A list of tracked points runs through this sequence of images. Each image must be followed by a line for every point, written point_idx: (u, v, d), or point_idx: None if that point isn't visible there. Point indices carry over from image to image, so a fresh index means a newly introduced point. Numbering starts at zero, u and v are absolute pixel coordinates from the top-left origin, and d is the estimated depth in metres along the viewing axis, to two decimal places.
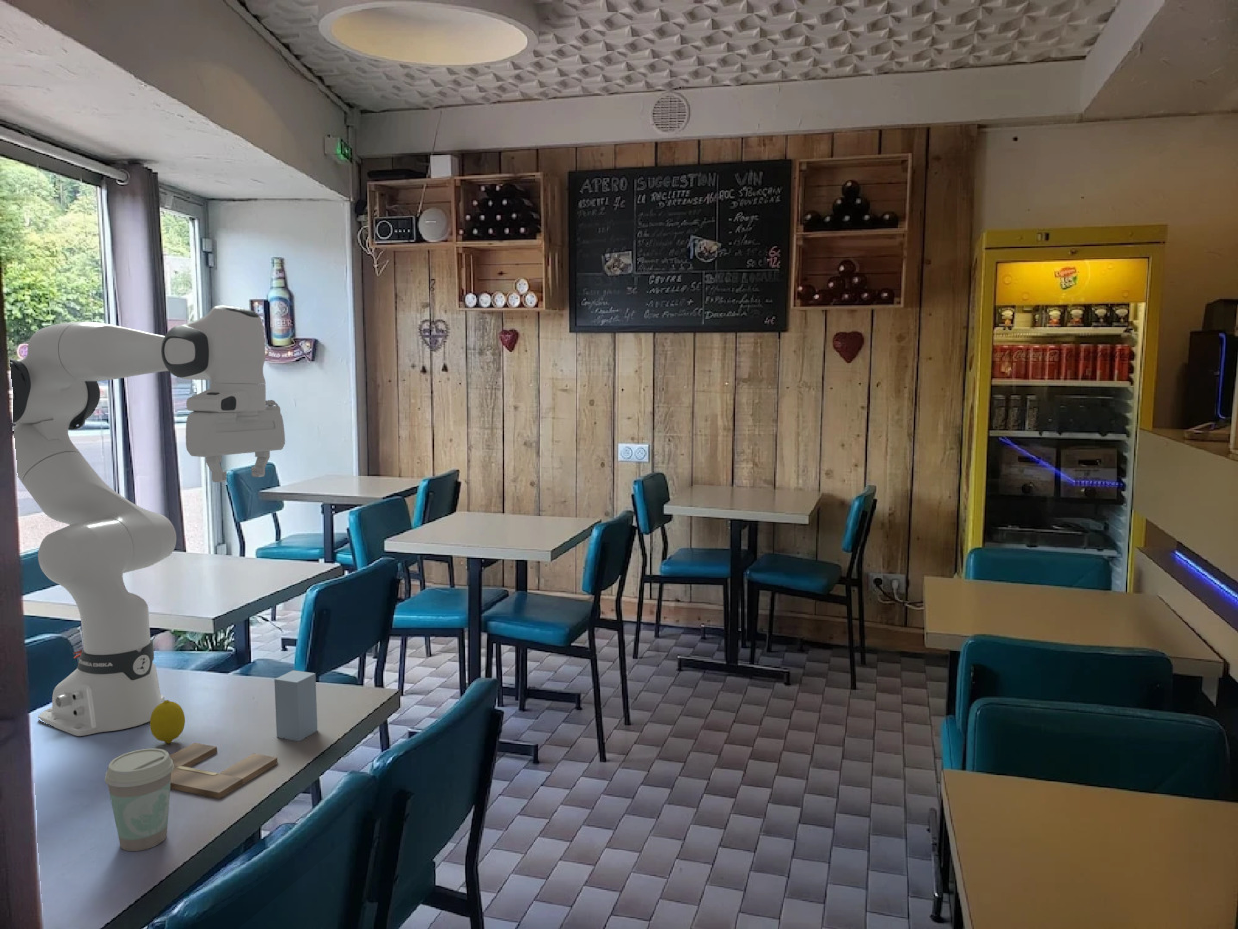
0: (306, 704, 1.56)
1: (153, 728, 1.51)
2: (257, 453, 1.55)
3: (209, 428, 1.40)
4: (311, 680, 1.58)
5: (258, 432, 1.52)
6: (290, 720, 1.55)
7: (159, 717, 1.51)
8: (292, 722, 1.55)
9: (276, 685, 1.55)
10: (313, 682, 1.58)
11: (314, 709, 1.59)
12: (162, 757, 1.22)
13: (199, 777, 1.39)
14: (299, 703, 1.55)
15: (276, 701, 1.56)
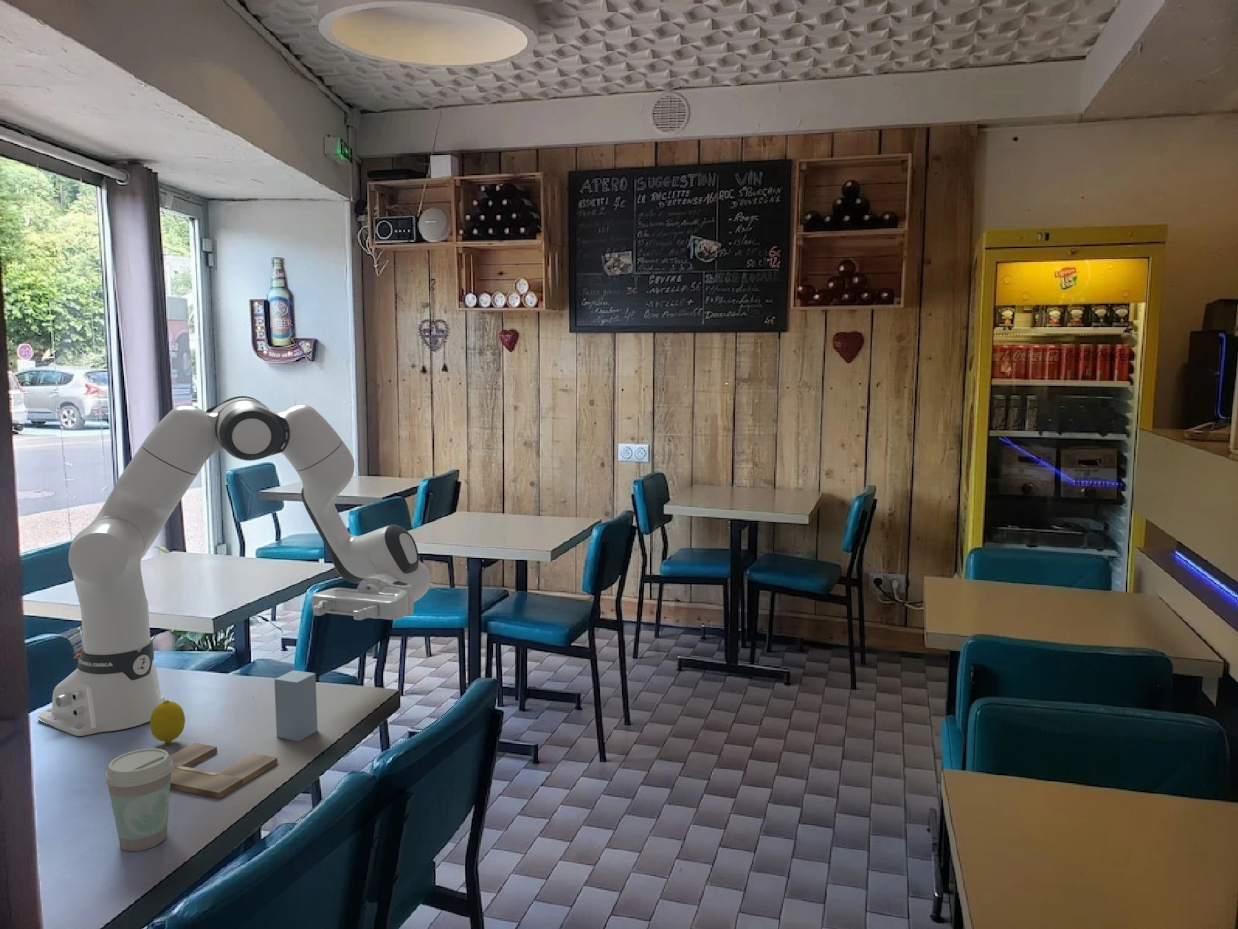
0: (306, 704, 1.56)
1: (153, 728, 1.51)
2: (327, 603, 1.73)
3: None
4: (311, 680, 1.58)
5: None
6: (290, 720, 1.55)
7: (160, 717, 1.51)
8: (292, 722, 1.55)
9: (276, 685, 1.55)
10: (313, 682, 1.58)
11: (314, 709, 1.59)
12: (162, 757, 1.22)
13: (199, 777, 1.39)
14: (299, 703, 1.55)
15: (276, 701, 1.56)
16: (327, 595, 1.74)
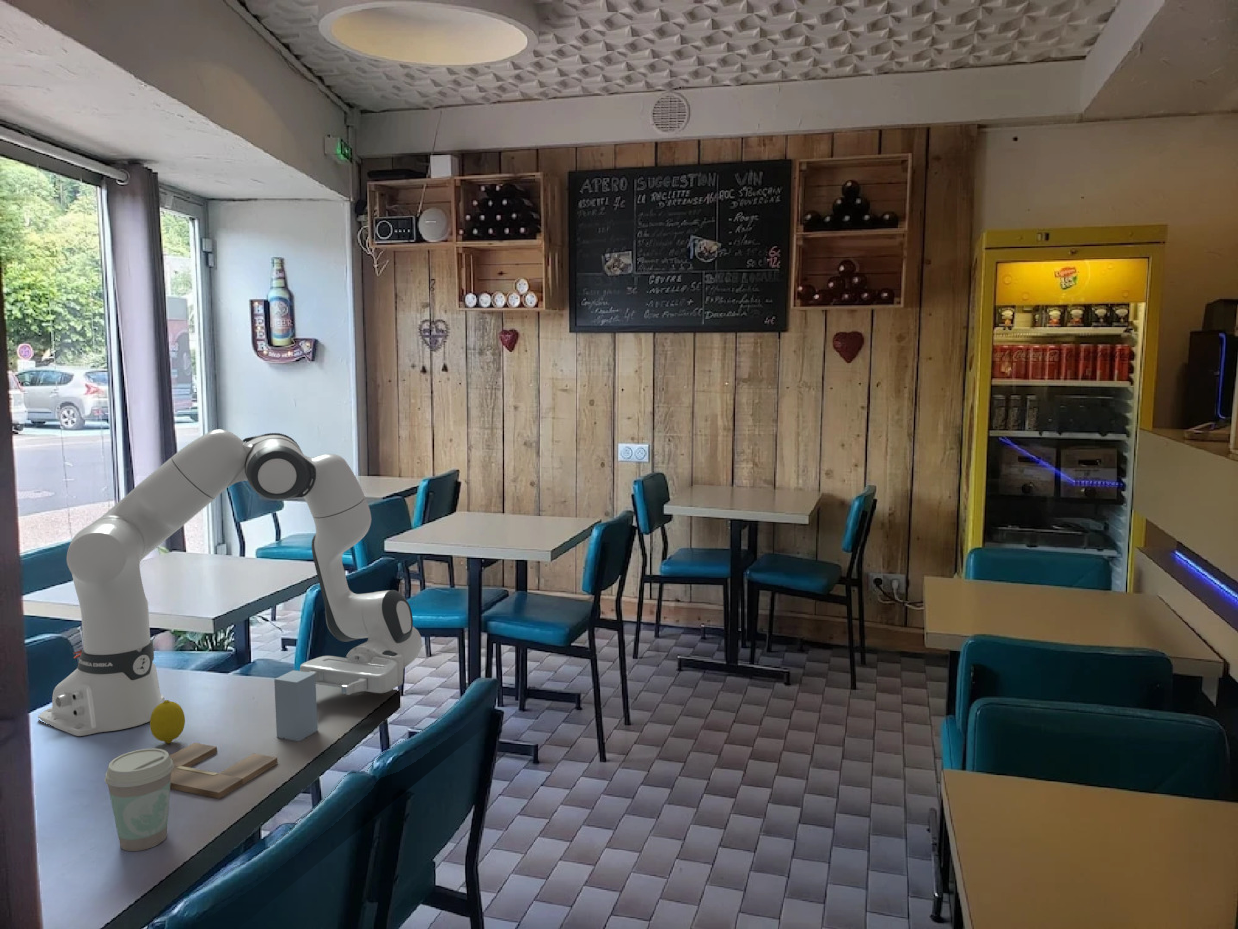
0: (306, 704, 1.56)
1: (153, 728, 1.51)
2: (315, 675, 1.71)
3: None
4: (311, 680, 1.58)
5: None
6: (290, 720, 1.55)
7: (159, 717, 1.51)
8: (291, 722, 1.55)
9: (276, 685, 1.55)
10: (313, 682, 1.58)
11: (314, 709, 1.59)
12: (162, 757, 1.22)
13: (199, 777, 1.39)
14: (299, 703, 1.55)
15: (276, 701, 1.56)
16: (315, 666, 1.72)
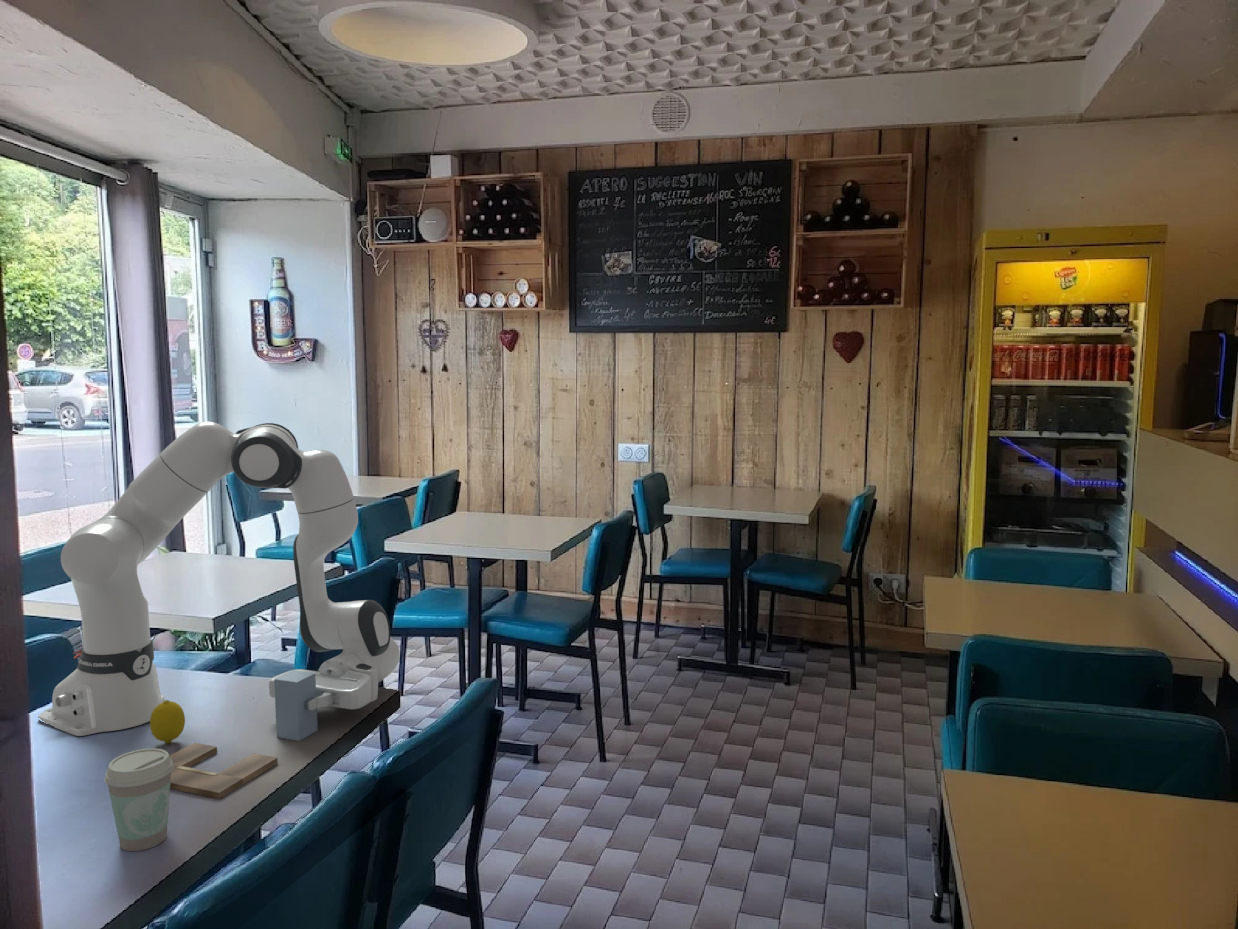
0: None
1: (153, 728, 1.51)
2: None
3: None
4: (311, 679, 1.58)
5: None
6: (290, 720, 1.55)
7: (159, 717, 1.51)
8: (291, 722, 1.55)
9: (276, 685, 1.55)
10: (313, 682, 1.58)
11: None
12: (162, 757, 1.22)
13: (199, 777, 1.39)
14: (299, 703, 1.55)
15: (276, 701, 1.56)
16: None
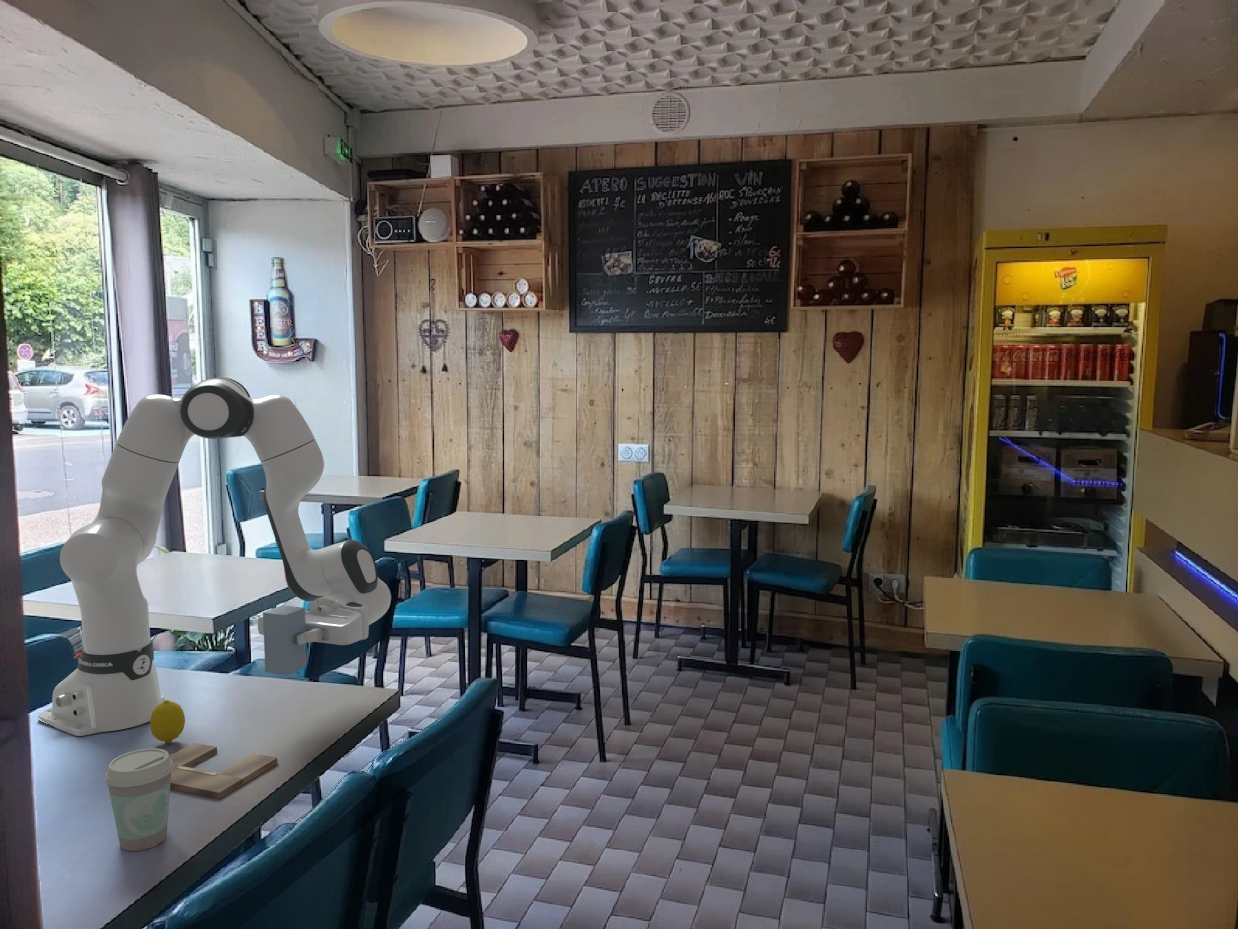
0: None
1: (153, 728, 1.51)
2: None
3: None
4: (300, 614, 1.55)
5: None
6: (278, 654, 1.53)
7: (159, 717, 1.51)
8: (280, 656, 1.53)
9: (265, 618, 1.53)
10: (302, 616, 1.55)
11: (303, 644, 1.56)
12: (162, 757, 1.22)
13: (199, 777, 1.39)
14: (288, 636, 1.52)
15: (264, 635, 1.53)
16: None
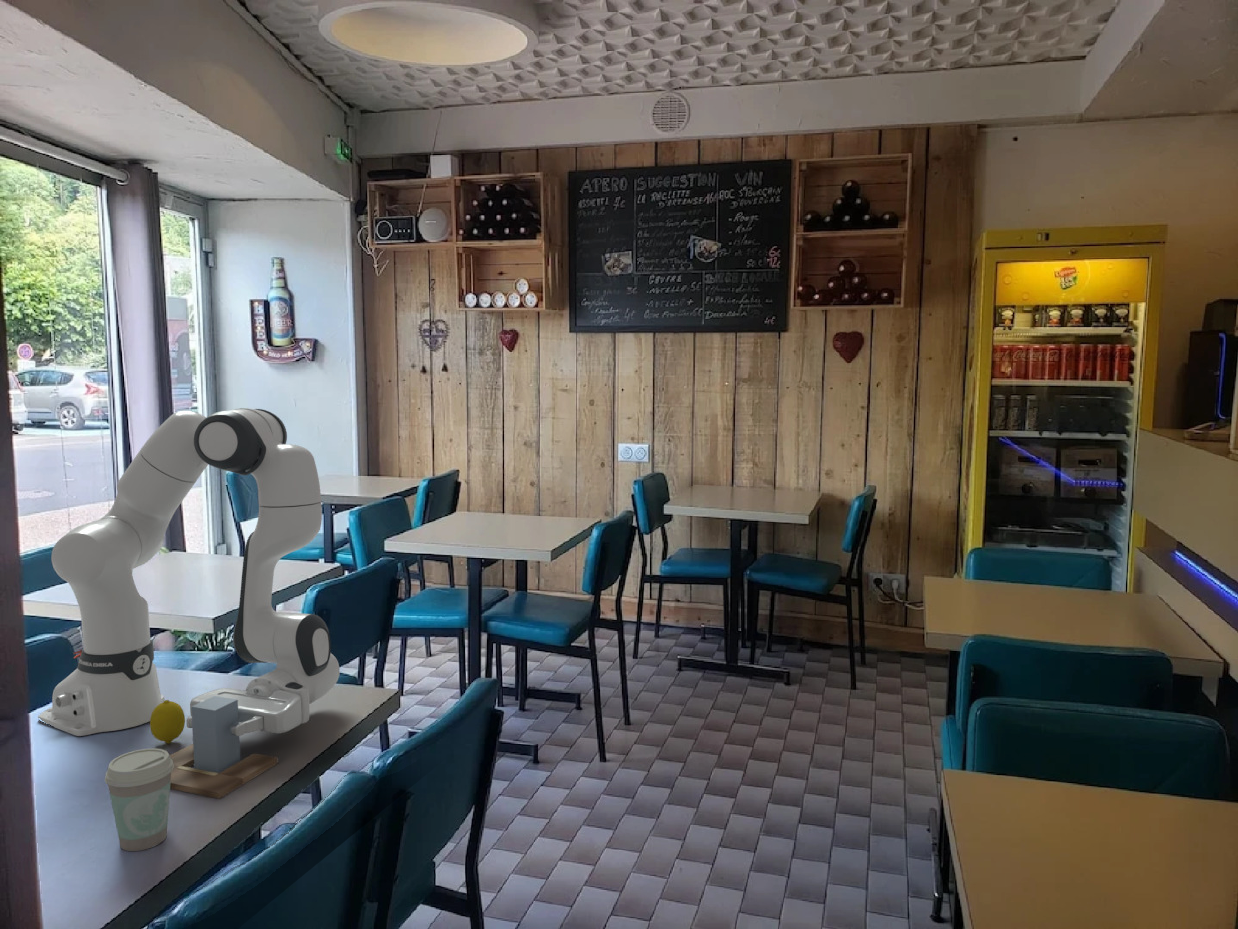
0: (226, 733, 1.44)
1: (153, 728, 1.51)
2: None
3: None
4: (232, 707, 1.45)
5: None
6: (208, 752, 1.42)
7: (159, 717, 1.51)
8: (210, 754, 1.42)
9: (193, 713, 1.43)
10: (235, 709, 1.45)
11: (236, 739, 1.46)
12: (162, 757, 1.22)
13: (199, 777, 1.39)
14: (218, 732, 1.42)
15: (193, 730, 1.43)
16: None
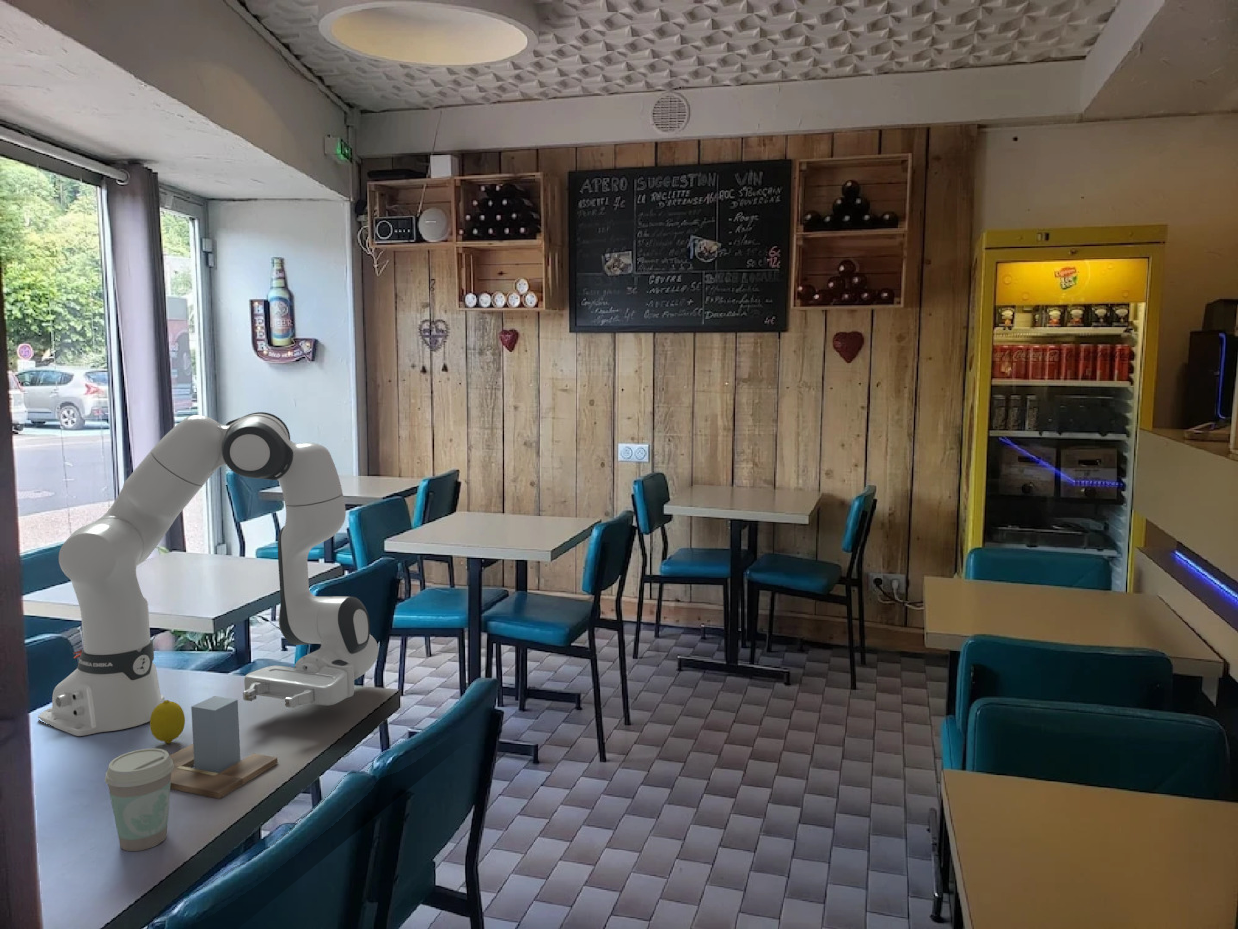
0: (226, 733, 1.44)
1: (153, 728, 1.51)
2: (260, 686, 1.61)
3: None
4: (233, 707, 1.45)
5: None
6: (208, 752, 1.42)
7: (159, 717, 1.51)
8: (210, 754, 1.42)
9: (193, 713, 1.43)
10: (235, 709, 1.45)
11: (236, 739, 1.46)
12: (162, 757, 1.22)
13: (199, 777, 1.39)
14: (218, 732, 1.42)
15: (193, 730, 1.43)
16: (260, 676, 1.63)
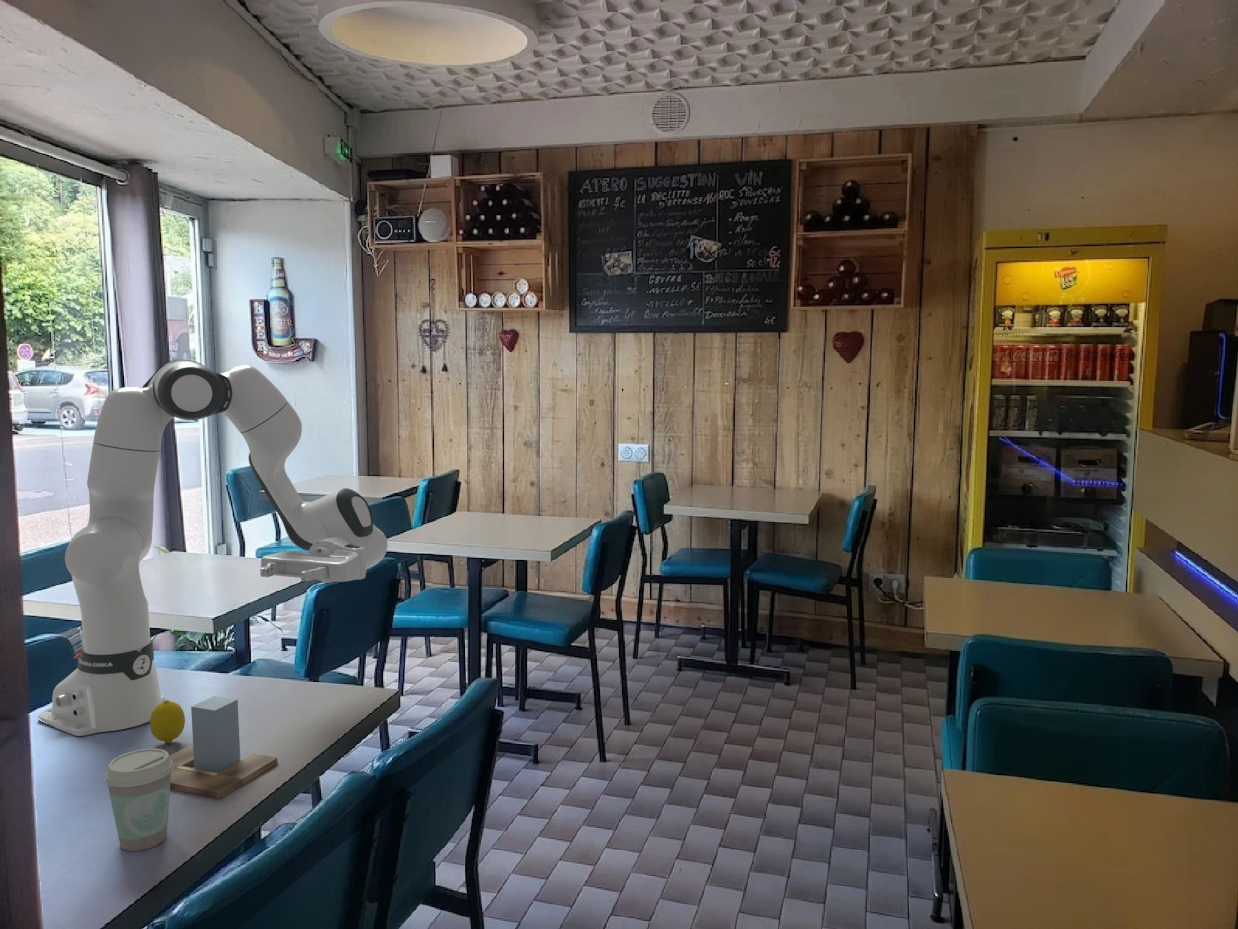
0: (226, 733, 1.44)
1: (153, 728, 1.51)
2: (276, 565, 1.69)
3: (354, 579, 1.69)
4: (232, 707, 1.45)
5: None
6: (208, 752, 1.42)
7: (159, 717, 1.51)
8: (210, 754, 1.42)
9: (193, 713, 1.43)
10: (234, 709, 1.45)
11: (236, 739, 1.46)
12: (162, 757, 1.22)
13: (199, 777, 1.39)
14: (218, 732, 1.42)
15: (193, 730, 1.43)
16: (276, 557, 1.70)
